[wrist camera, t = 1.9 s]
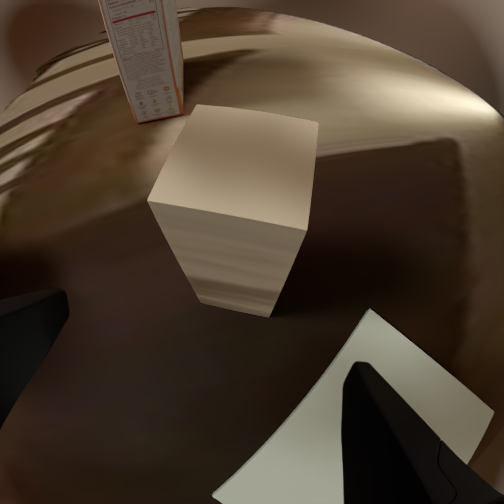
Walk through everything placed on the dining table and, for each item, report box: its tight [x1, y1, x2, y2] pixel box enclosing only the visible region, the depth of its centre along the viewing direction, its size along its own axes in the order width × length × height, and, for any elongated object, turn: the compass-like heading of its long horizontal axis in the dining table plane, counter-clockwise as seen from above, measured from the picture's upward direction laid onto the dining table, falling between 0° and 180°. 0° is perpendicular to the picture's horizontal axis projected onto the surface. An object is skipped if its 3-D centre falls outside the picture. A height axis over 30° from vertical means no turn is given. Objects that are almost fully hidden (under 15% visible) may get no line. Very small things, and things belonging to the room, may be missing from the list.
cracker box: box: [98, 0, 184, 124], centre depth 21 cm, size 14×6×21 cm, turn 9°
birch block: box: [147, 104, 319, 317], centre depth 15 cm, size 5×5×13 cm
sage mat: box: [212, 309, 494, 504], centre depth 15 cm, size 18×18×1 cm
